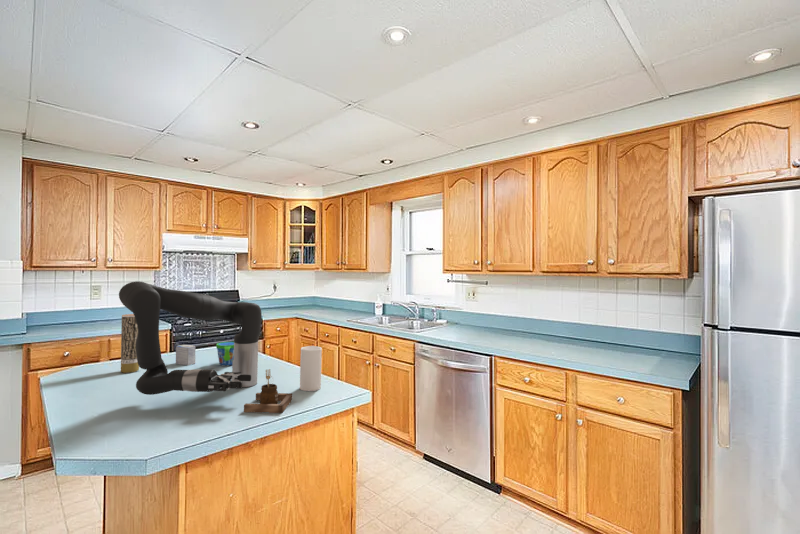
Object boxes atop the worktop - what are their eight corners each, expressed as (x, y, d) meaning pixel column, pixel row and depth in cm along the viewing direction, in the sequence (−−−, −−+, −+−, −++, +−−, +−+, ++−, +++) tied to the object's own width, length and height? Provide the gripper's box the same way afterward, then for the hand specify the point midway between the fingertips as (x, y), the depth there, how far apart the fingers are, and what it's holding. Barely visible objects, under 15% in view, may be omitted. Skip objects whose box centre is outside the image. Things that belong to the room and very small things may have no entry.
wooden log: (126, 369, 183) (127, 313, 183) (142, 369, 184) (143, 314, 184) (117, 373, 176) (118, 315, 176) (133, 373, 177) (134, 316, 177)
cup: (315, 391, 158) (316, 350, 158) (296, 390, 159) (297, 349, 159) (323, 385, 166) (324, 346, 166) (305, 384, 168) (306, 345, 167)
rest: (243, 412, 135) (243, 404, 135) (256, 399, 148) (257, 392, 148) (282, 412, 135) (282, 405, 135) (292, 400, 148) (292, 393, 148)
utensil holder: (261, 410, 137) (262, 374, 137) (258, 404, 143) (259, 370, 143) (279, 407, 140) (280, 372, 140) (275, 401, 146) (276, 368, 146)
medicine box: (195, 363, 196) (196, 345, 196) (188, 365, 192) (188, 347, 192) (183, 362, 199) (183, 344, 199) (175, 364, 195) (175, 346, 194)
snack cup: (219, 360, 203) (219, 340, 203) (241, 360, 205) (242, 340, 205) (212, 368, 187) (212, 346, 187) (236, 368, 190) (237, 346, 190)
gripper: (189, 375, 134) (239, 376, 134) (209, 364, 148) (254, 365, 149) (189, 398, 134) (238, 399, 134) (209, 385, 148) (253, 385, 149)
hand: (246, 381), depth 141 cm, fingers open, 8 cm apart
